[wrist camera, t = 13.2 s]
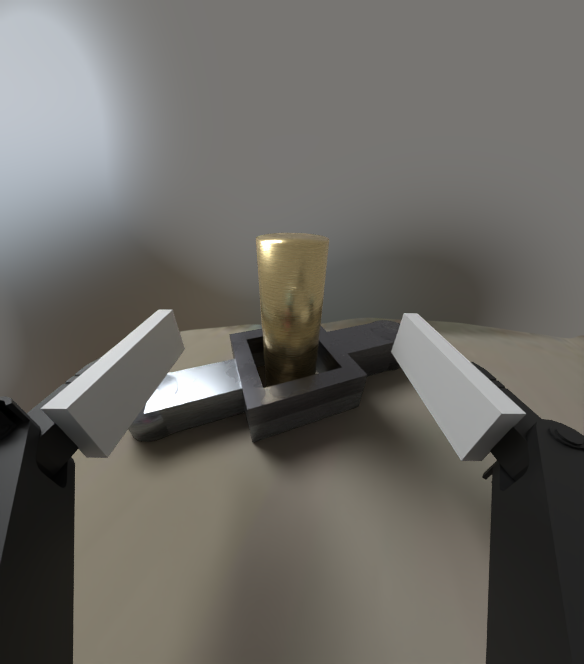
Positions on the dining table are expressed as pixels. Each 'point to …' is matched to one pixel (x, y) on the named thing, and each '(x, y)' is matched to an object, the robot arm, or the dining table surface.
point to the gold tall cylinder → (291, 302)
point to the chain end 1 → (218, 403)
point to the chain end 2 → (340, 381)
